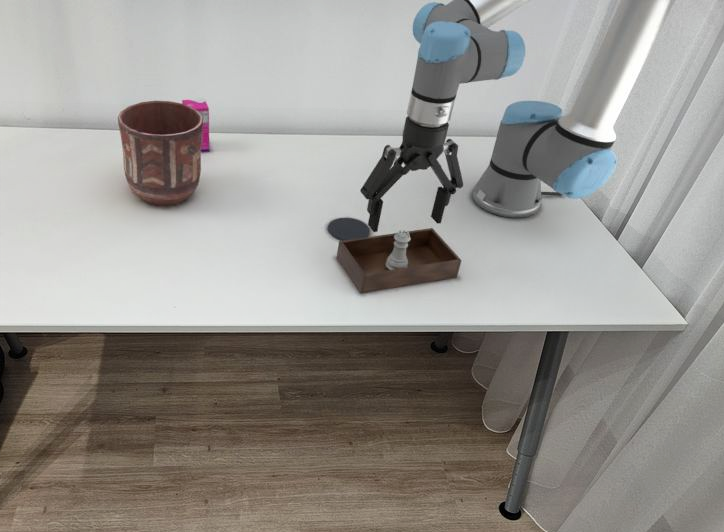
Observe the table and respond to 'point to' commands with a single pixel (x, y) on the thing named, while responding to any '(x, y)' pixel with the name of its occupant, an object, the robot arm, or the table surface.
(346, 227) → the coaster
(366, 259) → the tray
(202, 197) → the table surface
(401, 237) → the rook chess piece
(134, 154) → the pottery
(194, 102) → the supplement box
